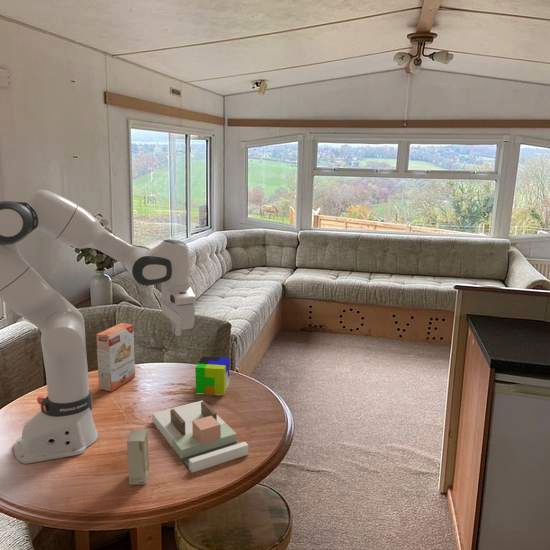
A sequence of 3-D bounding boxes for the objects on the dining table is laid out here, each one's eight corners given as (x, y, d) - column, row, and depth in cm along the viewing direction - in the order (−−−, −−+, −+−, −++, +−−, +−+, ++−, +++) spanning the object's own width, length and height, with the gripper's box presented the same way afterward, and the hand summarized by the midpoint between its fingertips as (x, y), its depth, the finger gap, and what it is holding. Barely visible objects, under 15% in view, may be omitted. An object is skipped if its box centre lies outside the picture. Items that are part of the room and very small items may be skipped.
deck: (192, 472, 138) (191, 462, 137) (152, 421, 164) (152, 413, 163) (248, 454, 147) (248, 444, 146) (202, 408, 172) (202, 400, 172)
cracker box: (112, 392, 183) (109, 336, 178) (98, 389, 185) (94, 333, 180) (136, 377, 195) (134, 324, 190) (123, 374, 197) (120, 322, 193)
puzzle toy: (229, 383, 192) (229, 358, 189) (224, 395, 182) (223, 369, 180) (202, 381, 192) (202, 356, 190) (195, 394, 183) (195, 367, 180)
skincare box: (146, 485, 133) (144, 441, 130) (128, 485, 132) (126, 442, 130) (149, 470, 139) (148, 428, 136) (133, 470, 139) (131, 428, 136)
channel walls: (182, 435, 150) (181, 422, 149) (170, 421, 158) (170, 409, 157) (216, 425, 156) (216, 413, 155) (204, 412, 163) (204, 401, 163)
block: (201, 444, 146) (201, 430, 145) (192, 435, 151) (192, 420, 150) (220, 438, 149) (220, 424, 148) (211, 429, 154) (211, 415, 153)
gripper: (155, 285, 168) (156, 326, 171) (177, 301, 151) (178, 346, 154) (174, 283, 171) (175, 323, 174) (198, 298, 154) (198, 342, 157)
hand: (177, 334), depth 164 cm, fingers closed
